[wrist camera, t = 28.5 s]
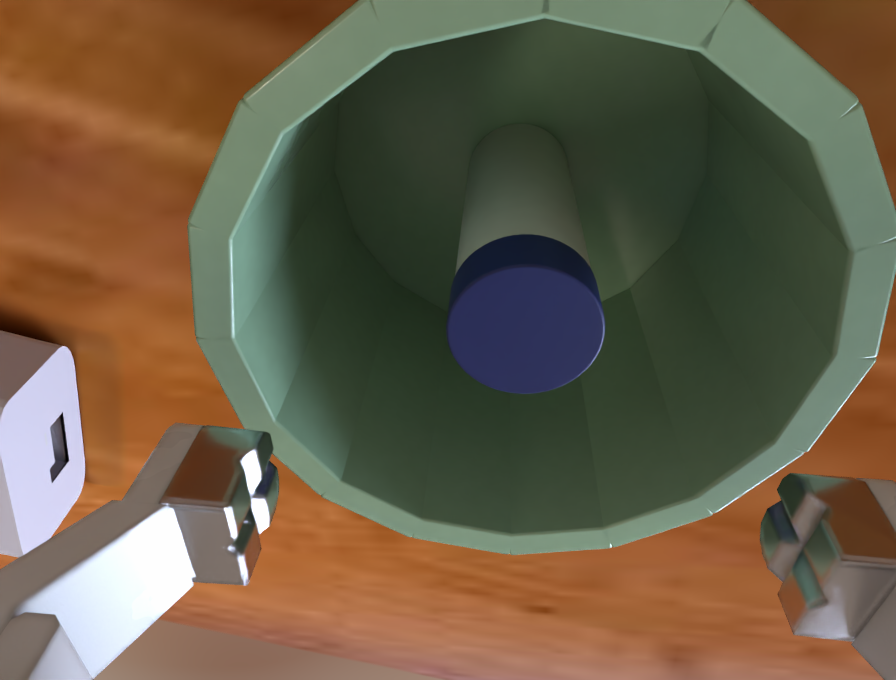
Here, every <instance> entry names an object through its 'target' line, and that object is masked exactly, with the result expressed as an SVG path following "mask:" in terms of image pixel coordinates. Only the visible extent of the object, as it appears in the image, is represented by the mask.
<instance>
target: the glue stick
mask: <svg viewBox="0 0 896 680" xmlns="http://www.w3.org/2000/svg"><path fill="white" fill-rule="evenodd" d="M446 336H447V342H448V345H449V348H450V351H451V353H452V355H453V357H454V359H455V360H456V361H457V363H458V364H459V366H460V367H461V368H462V369H463V370H464V371H465V372H466V373H467V374H468V375H470V376H471V377H472V378H474V379H475V380H477V381H478V382H480V383H482V384H484V385H486V386H488V387H491V388H493V389H496V390H500V391H504V392H509V393H518V394H530V393H539V392H545V391H549V390H552V389H555V388H558V387H561V386H563V385H565V384H567V383H569V382H571V381H572V380H574V379H575V378H577V377H578V376H580V375H581V374H582V373H583V372H584V371H586V370H587V368H588V367H589V366H590V365H591V364H592V363H593V361H594V360H595V358H596V357H597V355H598V353H599V351H600V349H601V347H602V344H603V341H604V336H605V318H604V312H603V308H602V303H601V299H600V295H599V290H598V286H597V282H596V279H595V276H594V273H593V271H592V270H591V266H590V261H589V257H588V252H587V248H586V243H585V239H584V234H583V230H582V225H581V221H580V216H579V212H578V207H577V203H576V198H575V194H574V189H573V185H572V180H571V176H570V171H569V167H568V162H567V158H566V155H565V152H564V150H563V148H562V146H561V145H560V143H559V142H558V141H557V140H556V139H555V137H554V136H552V135H551V134H550V133H549V132H547V131H545V130H544V129H542V128H539V127H537V126H534V125H530V124H510V125H506V126H503V127H500V128H498V129H496V130H494V131H492V132H491V133H489V134H488V135H487V136H486V137H485V138H483V139H482V140H481V142H480V143H479V144H478V145H477V147H476V148H475V150H474V152H473V154H472V157H471V160H470V163H469V170H468V178H467V186H466V194H465V201H464V209H463V217H462V225H461V233H460V241H459V248H458V256H457V264H456V272H455V277H454V280H453V283H452V286H451V293H450V300H449V308H448V315H447V323H446Z"/></svg>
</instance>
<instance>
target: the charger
mask: <svg viewBox="0 0 896 680" xmlns="http://www.w3.org/2000/svg"><path fill="white" fill-rule="evenodd" d="M84 477H85V458H84V448H83V439H82V430H81V420H80V411H79V402H78V392H77V383H76V374H75V366H74V360H73V357H72V354H71V352H70V350H69V349H68V348H67V347H65V346H61V345H57V344H53V343H49V342H45V341H41V340H37V339H33V338H29V337H25V336H21V335H17V334H13V333H9V332H5V331H1V330H0V554H5V555H10V556H14V557H21V556H23V555H24V554H26V553H28V552H29V551H31V550H32V549H34V548H36V547H37V546H39V545H40V544H42V543H44V542H45V541H47V540H49V539H50V538H51V536H52V535H53V533H54V532H55V531H56V529H57V528H58V526H59V525H60V523H61V522H62V520H63V519H64V518H65V516H66V515H67V513H68V512H69V510H70V509H71V508H72V506H73V505H74V503H75V502H76V500H77V499H78V497H79V495H80V493H81V490H82V487H83V483H84Z"/></svg>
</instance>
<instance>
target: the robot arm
mask: <svg viewBox="0 0 896 680" xmlns="http://www.w3.org/2000/svg"><path fill="white" fill-rule="evenodd" d="M273 449H274V448H273V443H272V439H271V434H270V433H268V432H265V431H256V430H246V429H237V428H227V427H218V426H208V425H206V426H202V425H193V424H184V423H175V424H173V425H172V426H170V427H169V428H168V429H167V430H166V432H165V433H164V435H163V436H162V438H161V439H160V441H159V443H158V444H157V446H156V447H155V449H154V451H153V452H152V454H151V455H150V457H149V458H148V460H147V462H146V463H145V465H144V466H143V468H142V469H141V471H140V473H139V474H138V476H137V477H136V479H135V480H134V482H133V484H132V485H131V487H130V488H129V490H128V491H127V493H126V495H125V496H124V498H123V499H122V501H117V500H112V501H110V502H108V503H107V504H105V505H104V506H102V507H100V508H99V509H97V510H95V511H94V512H92V513H91V514H89V515H87V516H86V517H84V518H83V519H81V520H79V521H78V522H76V523H74V524H73V525H71V526H70V527H68V528H66V529H65V530H63V531H62V532H60V533H58V534H57V535H55V536H53V537H52V538H50V539H49V540H47V541H45V542H44V543H42V544H40V545H39V546H37V547H36V548H34V549H32V550H31V551H29V552H28V553H26V554H24V555H23V556H21V557H19V558H18V559H16V560H15V561H13V562H11V563H10V564H8V565H7V566H5V567H3V568H2V569H0V680H94V678H95V677H96V676H97V675H98V674H99V673H100V672H101V671H102V670H103V669H104V668H106V667H107V666H108V665H109V664H110V663H111V662H112V661H113V660H114V659H115V658H116V657H117V656H118V655H119V654H120V653H122V652H123V651H124V650H125V649H126V648H127V647H128V646H129V645H130V644H131V643H132V642H133V641H134V640H135V639H137V638H138V637H139V636H140V635H141V634H142V633H143V632H144V631H145V630H146V629H147V628H148V627H149V626H150V625H152V624H153V623H154V622H155V621H156V620H157V619H158V618H159V617H160V616H161V615H162V614H163V613H164V612H166V611H167V610H168V609H169V608H170V607H171V606H172V605H173V604H174V603H175V602H176V601H177V600H178V599H179V598H181V597H182V596H183V595H184V594H185V593H186V592H187V591H188V590H189V589H190V588H191V587H192V586H193V582H201V583H217V584H234V585H248V583H249V580H250V578H251V575H252V572H253V570H254V567H255V564H256V562H257V559H258V556H259V554H260V551H261V544H260V539H259V533H261V532H262V531H263V530H265V529H266V528H267V527H268V526H270V524H271V521H272V519H273V516H274V513H275V510H276V505H277V499H278V493H279V477H278V471H277V468H276V467H275V466H274V465H273V464H272V463H271V462H270V461H269V459H270V457H271V454H272V452H273ZM777 491H778V493H779V495H780V498H781V501H780V502H778V503H776V504H775V505H773V506H771V507H769V508H768V509H767V511H766V513H765V515H764V518H763V520H762V522H761V532H760V543H761V549H762V554H763V557H764V560H765V562H766V565H767V568H768V569H769V570H770V571H771V572H772V573H773V574H775V575H776V576H777V577H778V578H779V579H780V580H781V581H782V582H783V583H782V585H781V587H780V590H779V592H778V596H779V599H780V602H781V604H782V607H783V609H784V612H785V614H786V617H787V619H788V622H789V625H790V627H791V630H792V632H793V635H800V636H808V637H817V638H825V639H834V640H842V641H851V642H853V643H852V644H851V645H852V646H853V647H854V648H855V649H856V650H857V651H858V652H859V653H860V654H861V655H862V656H863V657H864V658H865V660H866V661H867V662H868V663H869V664H870V665H871V666H872V667H873V668H874V669H875V670H876V671H877V672H878V673H879V674H880V676H881V677H882V678H883V679H884V680H896V483H895V482H894V481H893V480H879V479H865V478H856V479H855V478H851V477H837V476H823V475H809V474H795V473H790V474H788V475H787V476H786V477H784V478H783V479H782V481H781V483H780V485H779V487H778V489H777Z"/></svg>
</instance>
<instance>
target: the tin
mask: <svg viewBox="0 0 896 680" xmlns="http://www.w3.org/2000/svg"><path fill="white" fill-rule="evenodd" d="M510 124H530V125H534V126H537V127H539V128H542V129H544V130H545V131H547V132H549V133H550V134H551V135H552V136H554V137H555V139H556V140H557V141H558V142H559V143H560V145H561V146H562V148H563V150H564V152H565V155H566V158H567V162H568V167H569V171H570V176H571V180H572V185H573V189H574V194H575V198H576V203H577V207H578V212H579V216H580V221H581V225H582V230H583V234H584V239H585V243H586V248H587V252H588V257H589V261H590V266H591V270H592V271H593V273H594V276H595V279H596V282H597V286H598V290H599V295H600V299H601V303H602V308H603V312H604V318H605V336H604V341H603V344H602V347H601V349H600V351H599V353H598V355H597V357H596V358H595V360H594V361H593V363H592V364H591V365H590V366H589V367H588V368H587V370H586V371H584V372H583V373H582V374H581V375H580V376H578V377H577V378H575V379H574V380H572V381H571V382H569V383H567V384H565V385H563V386H561V387H558V388H555V389H552V390H549V391H545V392H539V393H530V394H518V393H509V392H504V391H500V390H496V389H493V388H491V387H488V386H486V385H484V384H482V383H480V382H478V381H477V380H475V379H474V378H472V377H471V376H470V375H468V374H467V373H466V372H465V371H464V370H463V369H462V368H461V367H460V366H459V364H458V363H457V361H456V360H455V359H454V357H453V355H452V353H451V351H450V348H449V345H448V342H447V336H446V323H447V315H448V308H449V300H450V293H451V286H452V283H453V280H454V277H455V272H456V264H457V256H458V248H459V241H460V233H461V225H462V217H463V209H464V201H465V194H466V186H467V178H468V170H469V163H470V160H471V157H472V154H473V152H474V150H475V148H476V147H477V145H478V144H479V143H480V142H481V140H482V139H483V138H485V137H486V136H487V135H488V134H489V133H491V132H492V131H494V130H496V129H498V128H500V127H503V126H506V125H510ZM188 222H189V223H188V225H187V228H188V242H189V256H190V270H191V284H192V299H193V313H194V327H195V335H196V341H197V342H198V344H199V346H200V348H201V350H202V352H203V353H204V355H205V357H206V359H207V361H208V363H209V365H210V366H211V368H212V370H213V372H214V374H215V376H216V377H217V379H218V381H219V383H220V385H221V387H222V389H223V390H224V392H225V394H226V396H227V398H228V400H229V402H230V403H231V405H232V407H233V409H234V411H235V413H236V414H237V416H238V418H239V420H240V422H241V424H242V426H243V427H244V428H245V429H246V430H256V431H265V432H268V433H270V434H271V439H272V443H273V448H274V449H273V452H272V454H273V455H274V456H275V457H277V458H278V459H279V460H280V461H281V462H282V463H283V464H285V465H286V466H287V467H288V468H289V469H290V470H291V471H292V472H294V473H295V474H296V475H297V476H298V477H299V478H300V479H302V480H303V481H304V482H305V483H306V484H307V485H308V486H309V487H311V488H312V489H313V490H314V491H315V492H316V493H317V494H319V495H321V497H323V498H325V499H327V500H329V501H331V502H333V503H336V504H338V505H340V506H342V507H344V508H347V509H349V510H351V511H353V512H355V513H357V514H360V515H362V516H364V517H366V518H368V519H371V520H373V521H375V522H377V523H379V524H381V525H384V526H386V527H388V528H390V529H392V530H395V531H397V532H399V533H401V534H403V535H405V536H408V537H411V536H412V537H413V538H417V539H422V540H428V541H434V542H439V543H445V544H451V545H457V546H462V547H468V548H474V549H479V550H485V551H491V552H496V553H502V554H509V553H510V554H511V555H518V554H532V553H547V552H562V551H577V550H592V549H606V548H611V547H617V546H620V545H623V544H626V543H629V542H632V541H635V540H639V539H642V538H645V537H648V536H651V535H654V534H657V533H660V532H663V531H666V530H669V529H672V528H675V527H678V526H681V525H685V524H688V523H691V522H694V521H697V520H700V519H703V518H706V517H709V516H712V515H713V513H716V512H718V511H720V510H721V509H723V508H724V507H726V506H727V505H729V504H730V503H732V502H733V501H735V500H736V499H738V498H739V497H741V496H742V495H744V494H745V493H747V492H748V491H750V490H751V489H753V488H754V487H756V486H757V485H759V484H760V483H761V482H763V481H764V480H766V479H767V478H769V477H770V476H772V475H773V474H775V473H776V472H778V471H779V470H781V469H782V468H784V467H785V466H787V465H788V464H790V463H791V462H793V461H794V460H796V459H797V458H799V457H800V456H802V455H803V454H804V452H808V451H809V450H810V448H811V447H812V446H813V444H814V443H815V442H816V440H817V439H818V438H819V436H820V435H821V434H822V432H823V431H824V430H825V428H826V427H827V426H828V424H829V423H830V422H831V420H832V419H833V418H834V416H835V415H836V414H837V412H838V411H839V410H840V408H841V407H842V406H843V404H844V403H845V402H846V400H847V399H848V398H849V396H850V395H851V394H852V392H853V391H854V390H855V388H856V387H857V386H858V384H859V383H860V382H861V380H862V379H863V378H864V376H865V375H866V374H867V372H868V371H869V370H870V368H871V367H872V366H873V364H874V363H875V362H876V356H877V355H878V351H879V346H880V341H881V337H882V332H883V328H884V323H885V318H886V314H887V309H888V304H889V300H890V295H891V291H892V286H893V281H894V277H895V272H896V209H895V206H894V203H893V200H892V197H891V194H890V191H889V187H888V184H887V181H886V178H885V175H884V172H883V169H882V166H881V162H880V159H879V156H878V153H877V150H876V147H875V144H874V140H873V137H872V134H871V131H870V128H869V125H868V122H867V119H866V115H865V112H864V109H863V106H862V104H861V103H859V102H858V97H857V96H856V95H855V94H854V93H853V92H851V91H850V90H849V89H848V88H847V87H846V86H845V85H843V84H842V83H841V82H840V81H839V80H838V79H837V78H835V77H834V76H833V75H832V74H831V73H830V72H828V71H827V70H826V69H825V68H824V67H823V66H822V65H820V64H819V63H818V62H817V61H816V60H815V59H814V58H812V57H811V56H810V55H809V54H808V53H807V52H805V51H804V50H803V49H802V48H801V47H800V46H799V45H797V44H796V43H795V42H794V41H793V40H792V39H791V38H789V37H788V36H787V35H786V34H785V33H784V32H782V31H781V30H780V29H779V28H778V27H777V26H776V25H774V24H773V23H772V22H771V21H770V20H769V19H768V18H766V17H765V16H764V15H763V14H762V13H761V12H760V11H758V10H757V9H756V8H755V7H754V6H753V5H751V4H750V3H749V2H748V1H747V0H358V1H357V2H355V3H354V4H353V5H352V6H351V7H349V8H348V9H347V10H346V11H345V12H343V13H342V14H341V15H340V16H338V17H337V18H336V19H335V20H334V21H332V22H331V23H330V24H329V25H328V26H326V27H325V28H324V29H323V30H321V31H320V32H319V33H318V34H317V35H315V36H314V37H313V38H312V39H311V40H309V41H308V42H307V43H306V44H304V45H303V46H302V47H301V48H300V49H298V50H297V51H296V52H295V53H294V54H292V55H291V56H290V57H289V58H287V59H286V60H285V61H284V62H283V63H281V64H280V65H279V66H278V67H277V68H275V69H274V70H273V71H272V72H270V73H269V74H268V75H267V76H266V77H264V78H263V79H262V80H261V81H260V82H258V83H257V84H256V85H255V86H253V87H252V88H251V89H250V90H249V91H247V92H246V93H245V94H244V97H243V98H242V99H241V100H240V101H239V102H238V104H237V106H236V108H235V111H234V113H233V115H232V118H231V120H230V122H229V125H228V127H227V129H226V132H225V134H224V136H223V139H222V141H221V143H220V146H219V148H218V150H217V153H216V155H215V157H214V160H213V162H212V164H211V167H210V169H209V171H208V174H207V176H206V178H205V181H204V183H203V185H202V188H201V190H200V192H199V195H198V197H197V199H196V202H195V204H194V206H193V209H192V211H191V213H190V216H189V218H188Z"/></svg>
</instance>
